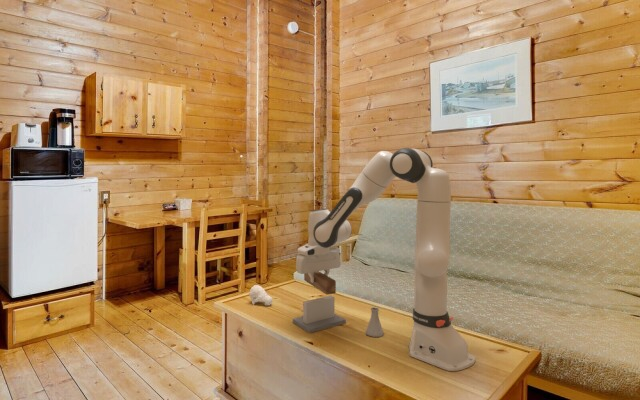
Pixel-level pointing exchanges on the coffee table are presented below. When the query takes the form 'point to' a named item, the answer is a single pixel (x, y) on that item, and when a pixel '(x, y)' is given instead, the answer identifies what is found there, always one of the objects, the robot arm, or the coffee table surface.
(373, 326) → the flask
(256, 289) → the white animal figurine
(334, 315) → the stand
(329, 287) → the walnut stick
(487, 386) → the coffee table surface
